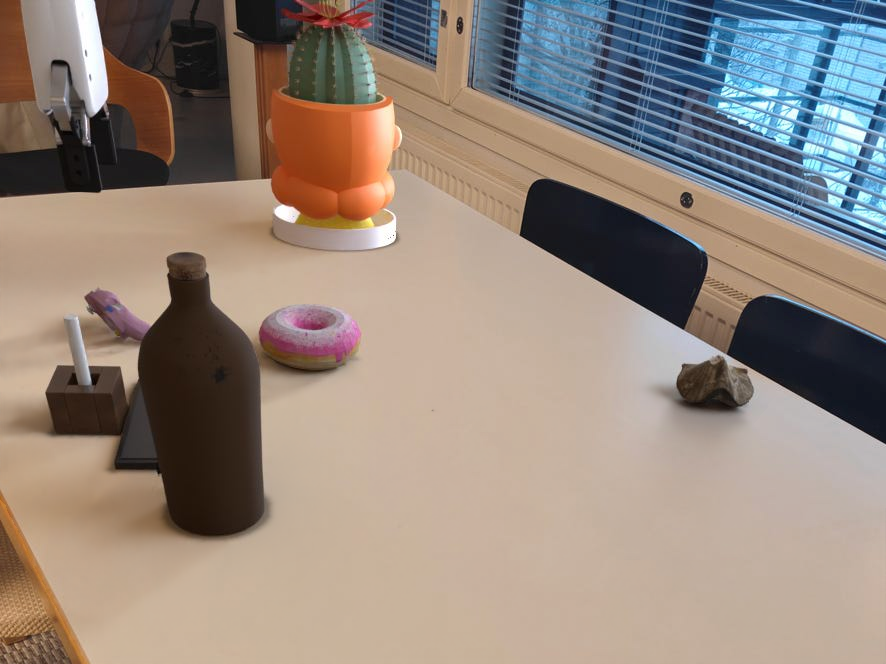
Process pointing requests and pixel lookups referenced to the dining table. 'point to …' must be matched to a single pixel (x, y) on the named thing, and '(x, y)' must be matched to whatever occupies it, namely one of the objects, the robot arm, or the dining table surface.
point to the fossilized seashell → (715, 382)
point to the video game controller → (116, 315)
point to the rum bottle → (203, 407)
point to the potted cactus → (332, 138)
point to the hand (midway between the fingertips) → (93, 176)
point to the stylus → (77, 349)
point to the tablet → (136, 438)
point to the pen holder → (87, 401)
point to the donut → (310, 336)
